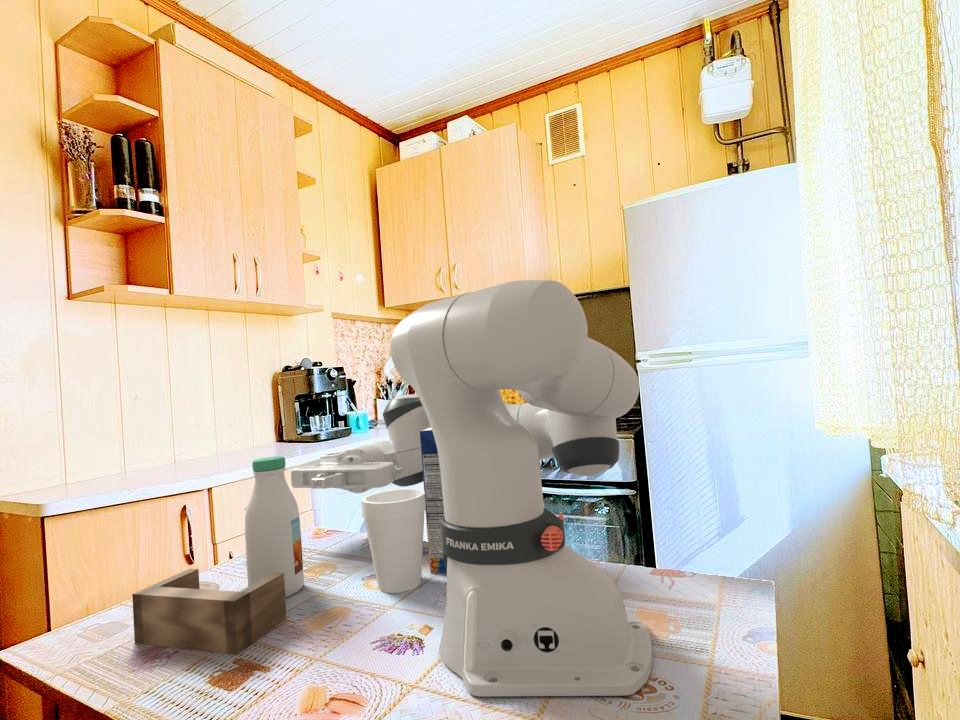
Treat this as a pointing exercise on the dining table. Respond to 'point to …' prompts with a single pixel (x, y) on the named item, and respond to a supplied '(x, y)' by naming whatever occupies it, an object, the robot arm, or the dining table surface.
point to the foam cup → (396, 537)
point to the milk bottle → (273, 527)
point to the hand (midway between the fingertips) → (317, 483)
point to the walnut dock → (207, 613)
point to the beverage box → (433, 499)
